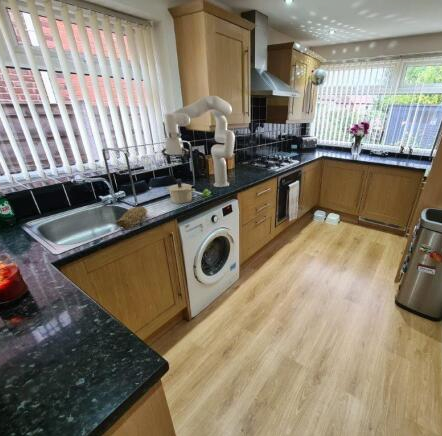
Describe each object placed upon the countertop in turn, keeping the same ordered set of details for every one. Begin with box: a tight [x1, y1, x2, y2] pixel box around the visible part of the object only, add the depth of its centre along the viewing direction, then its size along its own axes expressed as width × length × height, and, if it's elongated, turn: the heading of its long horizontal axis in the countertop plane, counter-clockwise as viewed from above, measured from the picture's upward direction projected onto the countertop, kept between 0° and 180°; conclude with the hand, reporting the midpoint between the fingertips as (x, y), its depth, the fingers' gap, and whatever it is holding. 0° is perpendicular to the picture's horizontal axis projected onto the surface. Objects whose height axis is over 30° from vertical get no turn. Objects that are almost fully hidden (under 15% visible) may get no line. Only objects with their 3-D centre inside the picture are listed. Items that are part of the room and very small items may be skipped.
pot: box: [165, 187, 196, 204], centre depth 163 cm, size 14×19×8 cm
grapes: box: [201, 188, 212, 198], centre depth 171 cm, size 10×5×5 cm, turn 173°
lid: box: [168, 178, 192, 192], centre depth 161 cm, size 15×15×6 cm
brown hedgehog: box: [115, 206, 148, 230], centre depth 132 cm, size 13×8×20 cm
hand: (176, 163), depth 156 cm, fingers open, 9 cm apart
